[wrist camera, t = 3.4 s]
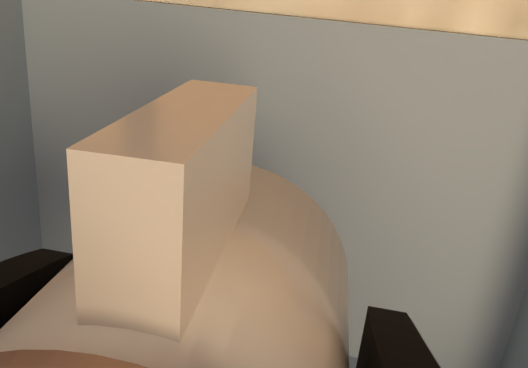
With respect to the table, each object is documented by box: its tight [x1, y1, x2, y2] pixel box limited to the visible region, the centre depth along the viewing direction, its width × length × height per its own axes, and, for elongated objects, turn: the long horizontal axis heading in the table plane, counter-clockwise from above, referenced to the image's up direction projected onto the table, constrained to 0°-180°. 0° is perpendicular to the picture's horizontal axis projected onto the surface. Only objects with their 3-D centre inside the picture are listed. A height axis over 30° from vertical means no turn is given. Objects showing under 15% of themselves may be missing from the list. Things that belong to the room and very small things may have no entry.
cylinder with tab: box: [0, 80, 349, 368], centre depth 7 cm, size 5×7×6 cm
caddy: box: [0, 0, 528, 368], centre depth 15 cm, size 18×13×3 cm
